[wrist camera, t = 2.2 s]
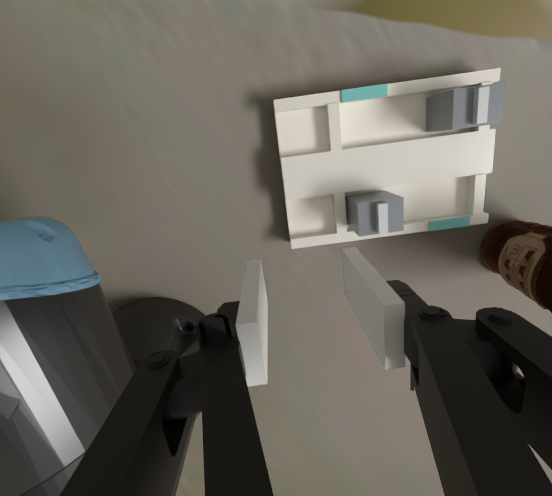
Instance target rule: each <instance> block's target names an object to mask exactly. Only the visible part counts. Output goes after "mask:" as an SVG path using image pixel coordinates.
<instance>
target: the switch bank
mask: <svg viewBox="0 0 552 496" xmlns="http://www.w3.org/2000/svg"><path fill="white" fill-rule="evenodd" d="M499 80H500V68H497V69H490V70H483V71H476V72H469V73H461V74H454V75H447V76H440V77H433V78H426V79H419V80H412V81H404V82H397V83H390V84H381V85H374V86H366V87H359V88H352V89H345V90H340V91H333V92H326V93H319V94H312V95H305V96H298V97H290V98H283V99H276V100H274V101H273V106H274V114H275V122H276V131H277V139H278V147H279V155H280V163H281V171H282V180H283V188H284V196H285V204H286V212H287V221H288V229H289V237H290V244H291V248H292V249H295V248H302V247H310V246H318V245H325V244H333V243H340V242H348V241H355V240H363V239H371V238H378V237H386V236H393V235H401V234H409V233H416V232H424V231H436V230H444V229H451V228H459V227H466V226H469V225H477V224H484V223H488V217H489V213H486V212H483V209H484V196H485V182H486V173H492V167H493V155H494V142H495V130H496V129H490V125H484V126H476V127H469V128H462V129H454V130H445V131H435V132H426V98H428V97H431V96H434V95H437V94H440V93H444V92H447V91H450V90H453V89H459V88H467V87H474V86H481V85H488V84H493V82H497V81H499ZM378 191H387V192H390V193H393V194H396V195H398V196H401V197H404V231H398V232H390V233H383V234H375V235H367V236H360V237H359V236H358V235H357V234H356V233H355V232H354V231H353V230H352V229H351V228H350V227H349V226H348V225H347V216H346V200H345V196H348V195H356V194H363V193H371V192H378Z"/></svg>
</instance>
